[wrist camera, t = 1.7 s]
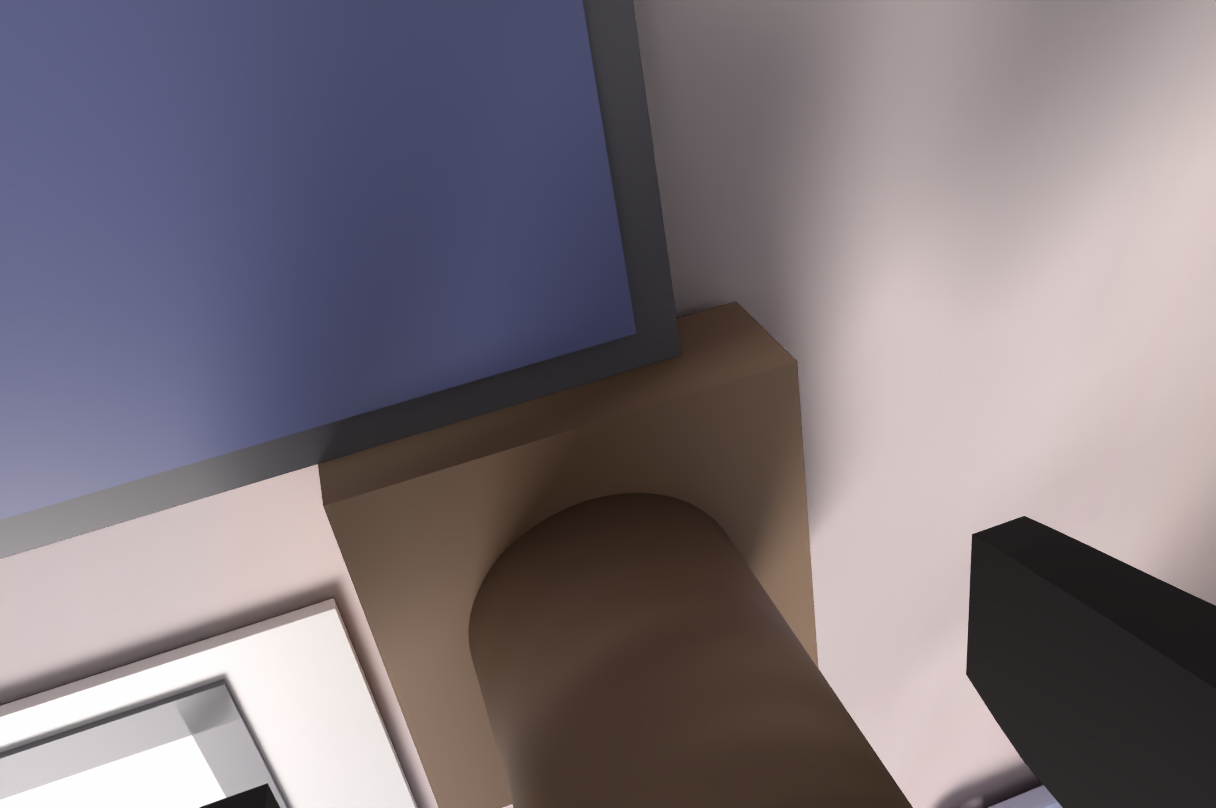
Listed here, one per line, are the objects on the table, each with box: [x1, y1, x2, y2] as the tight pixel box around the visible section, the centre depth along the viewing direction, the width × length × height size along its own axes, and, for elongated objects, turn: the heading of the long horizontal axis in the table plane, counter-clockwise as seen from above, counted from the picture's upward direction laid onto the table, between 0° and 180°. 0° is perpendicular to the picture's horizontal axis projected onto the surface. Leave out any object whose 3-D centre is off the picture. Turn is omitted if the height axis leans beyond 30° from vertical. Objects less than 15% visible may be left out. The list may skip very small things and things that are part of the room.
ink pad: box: [0, 0, 681, 559], centre depth 9 cm, size 9×7×1 cm
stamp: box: [318, 302, 913, 808], centre depth 11 cm, size 5×5×6 cm
